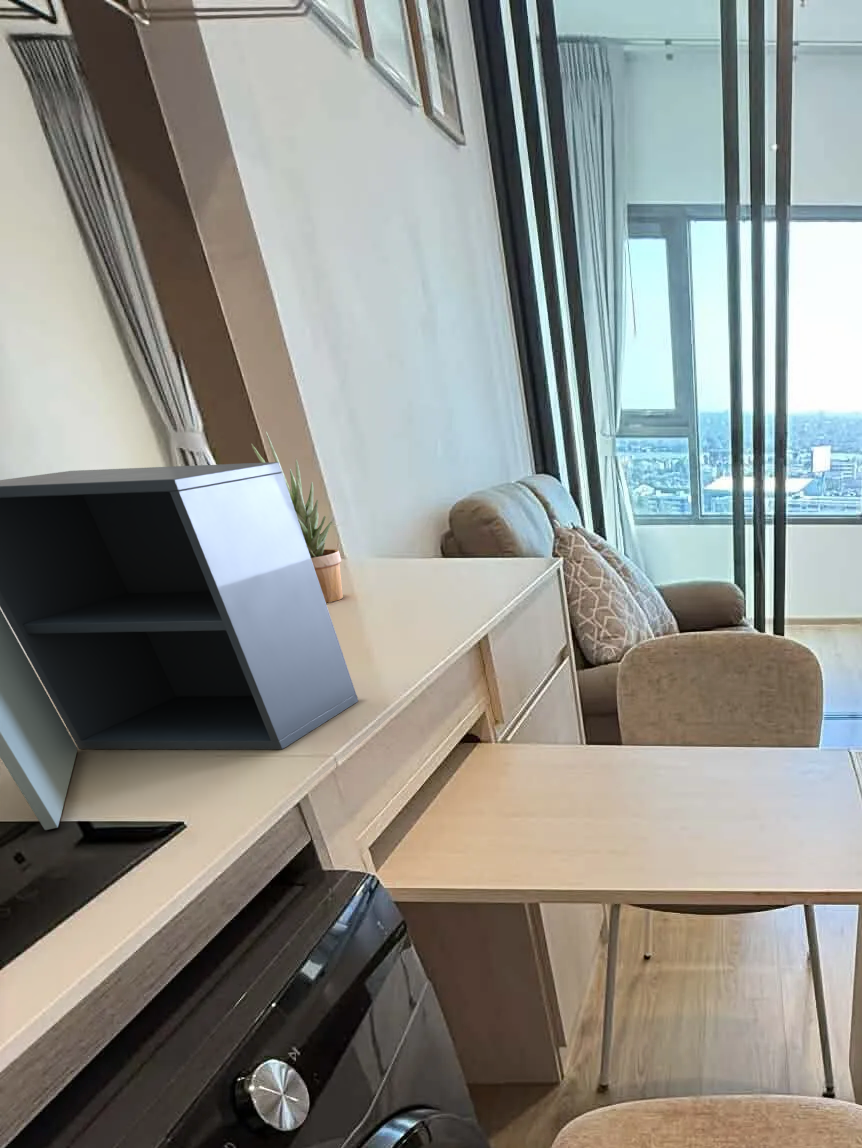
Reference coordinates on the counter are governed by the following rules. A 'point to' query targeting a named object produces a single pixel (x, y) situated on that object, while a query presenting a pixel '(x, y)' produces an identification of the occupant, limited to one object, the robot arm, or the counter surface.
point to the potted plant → (314, 535)
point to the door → (32, 734)
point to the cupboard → (170, 606)
